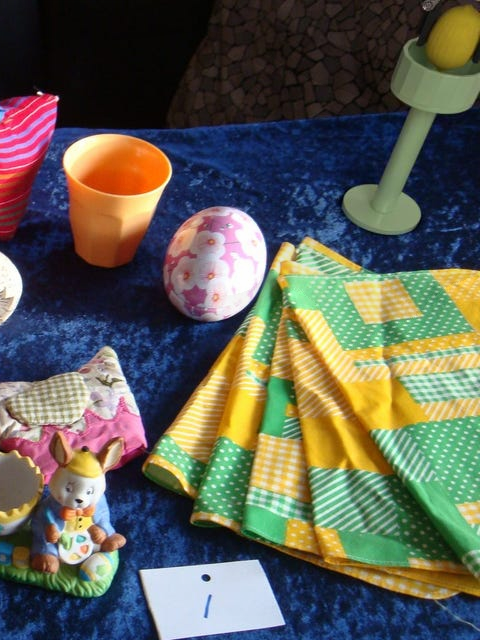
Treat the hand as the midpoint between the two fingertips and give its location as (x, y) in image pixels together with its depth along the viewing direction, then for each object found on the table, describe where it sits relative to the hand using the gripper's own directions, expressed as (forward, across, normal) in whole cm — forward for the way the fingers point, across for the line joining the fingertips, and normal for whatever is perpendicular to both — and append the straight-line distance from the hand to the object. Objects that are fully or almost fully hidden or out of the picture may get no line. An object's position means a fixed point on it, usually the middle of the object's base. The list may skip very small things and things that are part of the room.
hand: (450, 48), depth 96 cm
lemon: (+3, 0, 0) cm, 3 cm away
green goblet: (+23, 0, 0) cm, 23 cm away
